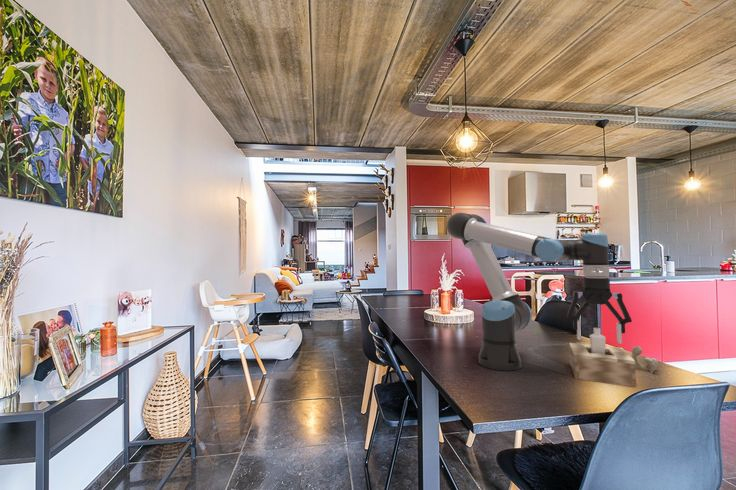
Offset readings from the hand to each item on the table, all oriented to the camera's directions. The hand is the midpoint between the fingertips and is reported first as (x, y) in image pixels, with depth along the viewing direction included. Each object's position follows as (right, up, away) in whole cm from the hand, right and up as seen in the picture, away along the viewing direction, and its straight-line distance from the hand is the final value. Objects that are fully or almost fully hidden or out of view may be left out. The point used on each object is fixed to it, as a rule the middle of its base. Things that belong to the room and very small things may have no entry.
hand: (598, 340), depth 111 cm
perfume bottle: (0, -11, 0) cm, 11 cm away
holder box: (0, -11, 0) cm, 11 cm away
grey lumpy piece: (+20, -12, +3) cm, 23 cm away
